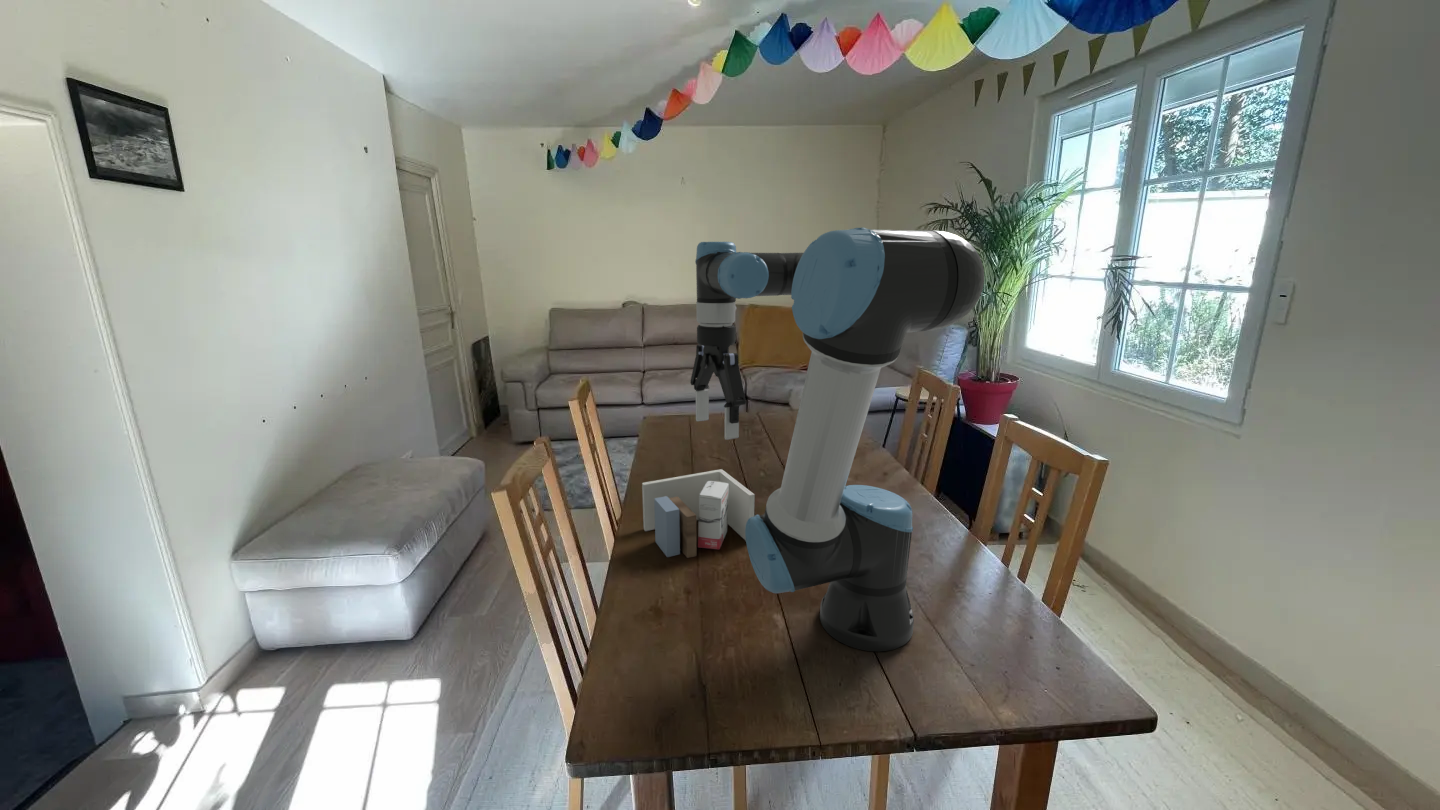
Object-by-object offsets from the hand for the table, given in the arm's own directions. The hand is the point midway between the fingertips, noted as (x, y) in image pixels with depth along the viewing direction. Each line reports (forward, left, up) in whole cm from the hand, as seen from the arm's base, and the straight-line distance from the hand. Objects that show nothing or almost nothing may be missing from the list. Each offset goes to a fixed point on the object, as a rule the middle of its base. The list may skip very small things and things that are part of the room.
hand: (716, 429), depth 119 cm
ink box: (0, 0, -25) cm, 25 cm away
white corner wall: (+3, +3, -25) cm, 25 cm away
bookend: (+1, +7, -25) cm, 26 cm away
